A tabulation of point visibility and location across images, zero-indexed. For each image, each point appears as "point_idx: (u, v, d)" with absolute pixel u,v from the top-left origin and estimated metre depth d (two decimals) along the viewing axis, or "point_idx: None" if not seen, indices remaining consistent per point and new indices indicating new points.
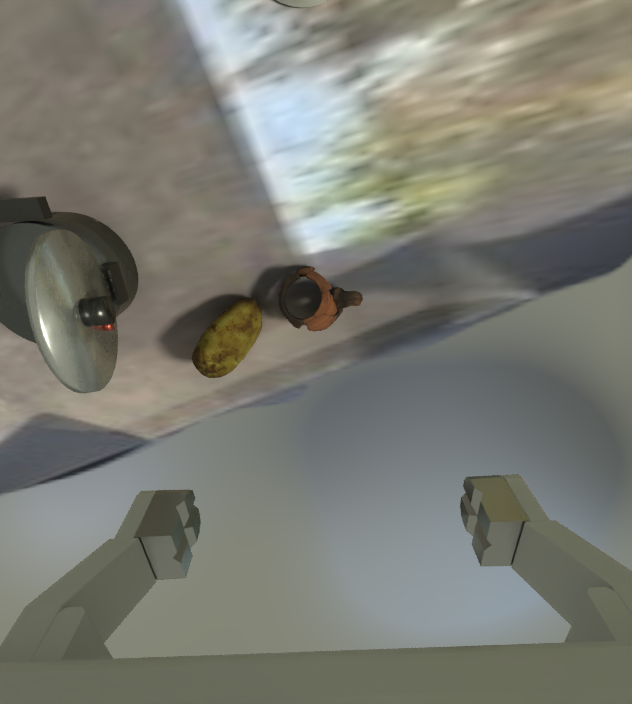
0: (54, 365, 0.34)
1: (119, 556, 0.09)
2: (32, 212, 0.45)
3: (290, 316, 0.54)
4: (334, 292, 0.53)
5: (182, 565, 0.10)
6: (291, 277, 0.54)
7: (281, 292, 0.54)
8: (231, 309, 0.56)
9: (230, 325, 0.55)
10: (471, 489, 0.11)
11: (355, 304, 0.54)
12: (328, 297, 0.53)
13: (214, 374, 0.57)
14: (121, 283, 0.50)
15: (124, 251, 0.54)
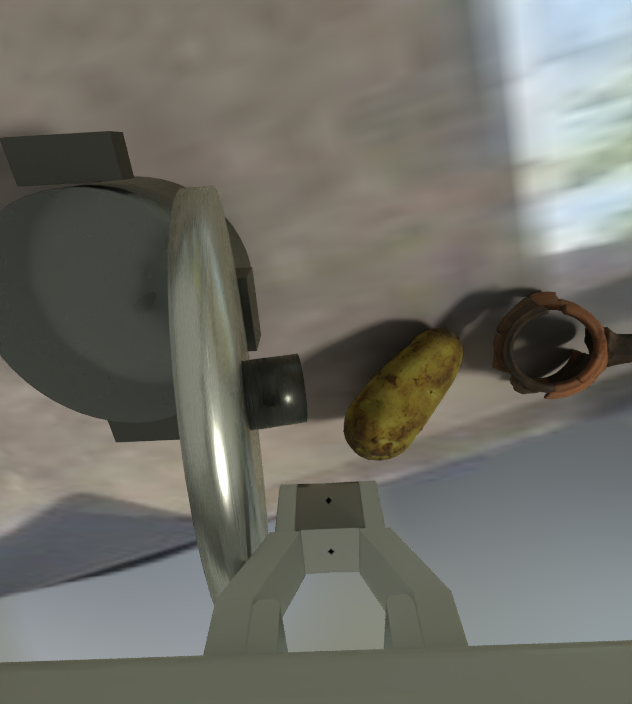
0: None
1: (288, 549, 0.09)
2: (98, 164, 0.21)
3: (528, 379, 0.31)
4: (609, 337, 0.31)
5: (334, 559, 0.10)
6: (532, 312, 0.31)
7: (510, 337, 0.32)
8: (421, 348, 0.32)
9: (421, 376, 0.32)
10: (325, 495, 0.11)
11: None
12: None
13: (383, 456, 0.33)
14: (255, 307, 0.26)
15: (240, 248, 0.31)
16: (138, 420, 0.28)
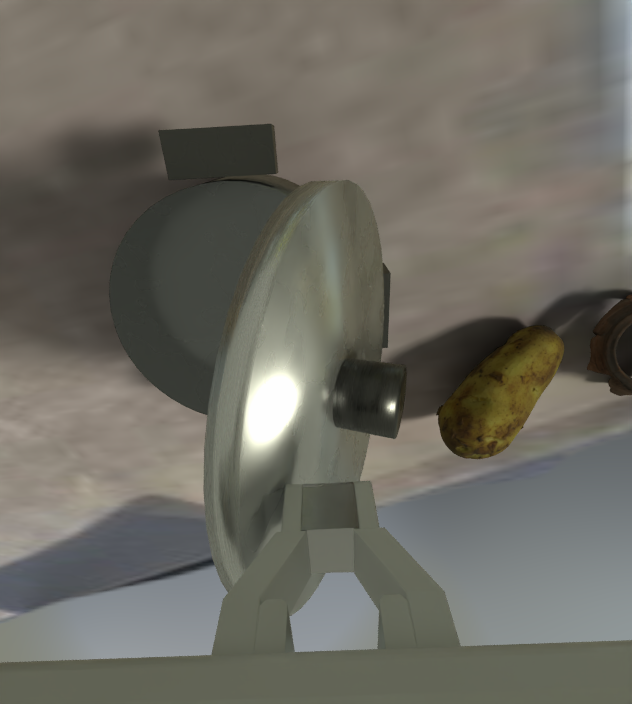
0: None
1: (294, 549, 0.09)
2: (254, 157, 0.21)
3: None
4: None
5: (340, 559, 0.10)
6: None
7: (614, 339, 0.32)
8: (525, 345, 0.32)
9: (527, 373, 0.31)
10: (320, 496, 0.11)
11: None
12: None
13: (484, 455, 0.33)
14: None
15: None
16: None
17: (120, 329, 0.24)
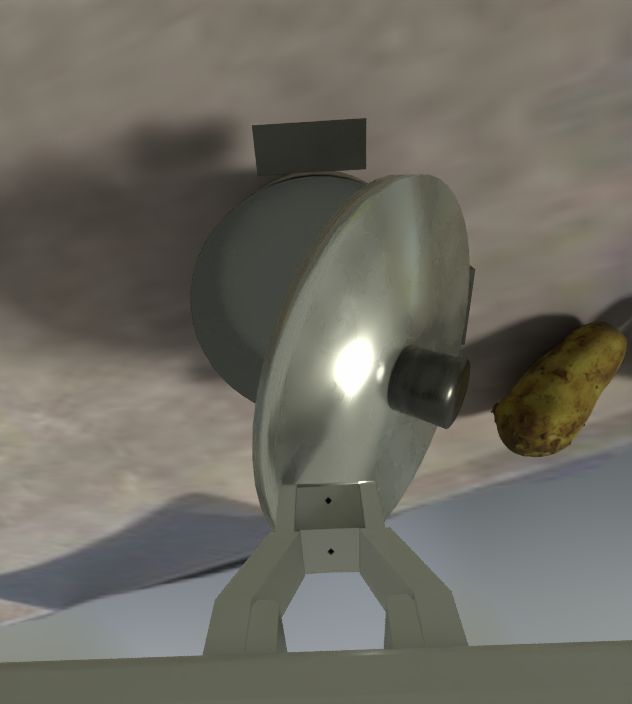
0: None
1: (287, 549, 0.09)
2: (345, 152, 0.21)
3: None
4: None
5: (333, 559, 0.10)
6: None
7: None
8: (589, 342, 0.32)
9: (592, 370, 0.31)
10: (325, 495, 0.11)
11: None
12: None
13: (545, 453, 0.33)
14: None
15: None
16: None
17: (198, 326, 0.24)
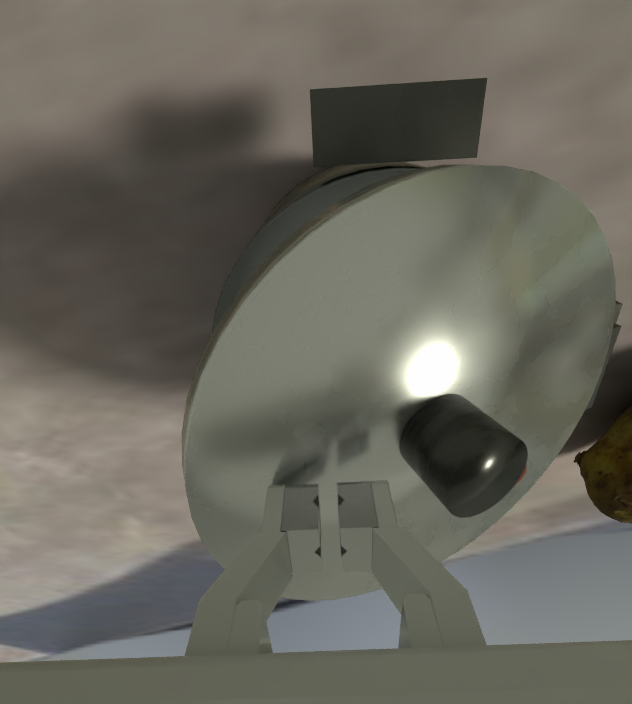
0: None
1: (273, 550, 0.09)
2: (448, 132, 0.14)
3: None
4: None
5: (321, 559, 0.10)
6: None
7: None
8: None
9: None
10: (337, 495, 0.11)
11: None
12: None
13: None
14: None
15: None
16: None
17: None
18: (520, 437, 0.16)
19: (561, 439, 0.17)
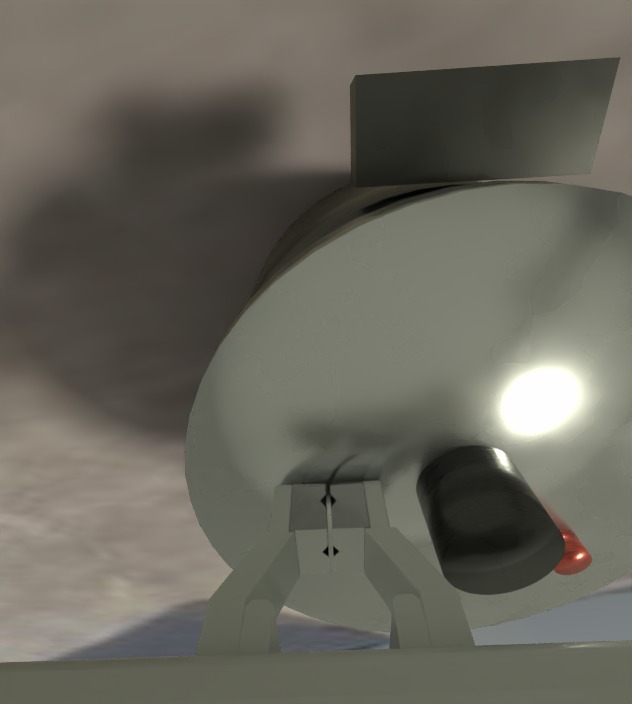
0: None
1: (282, 549, 0.09)
2: (554, 137, 0.09)
3: None
4: None
5: (328, 559, 0.10)
6: None
7: None
8: None
9: None
10: None
11: None
12: None
13: None
14: None
15: None
16: None
17: None
18: (592, 519, 0.12)
19: None
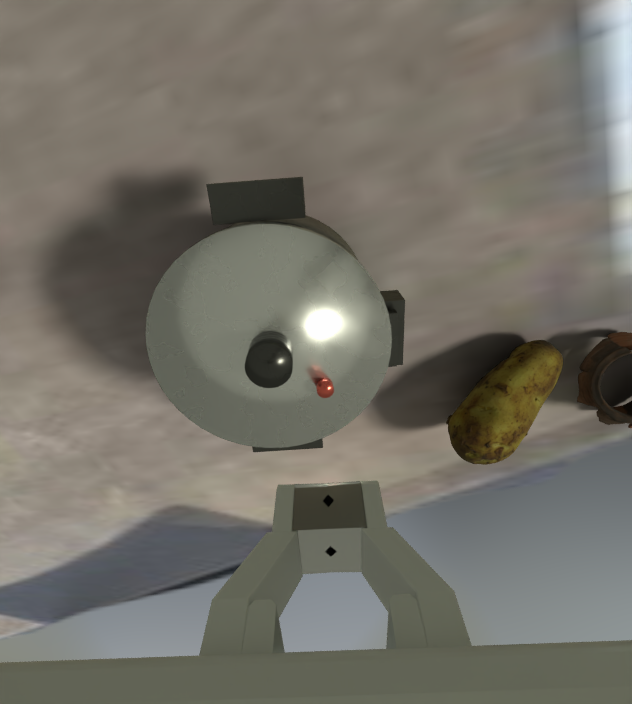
0: None
1: (284, 550, 0.09)
2: (286, 204, 0.24)
3: (617, 412, 0.35)
4: None
5: (331, 559, 0.10)
6: (616, 353, 0.35)
7: (597, 376, 0.36)
8: (527, 359, 0.35)
9: (529, 384, 0.34)
10: (328, 495, 0.11)
11: None
12: None
13: (491, 460, 0.36)
14: None
15: None
16: None
17: None
18: (336, 371, 0.27)
19: (374, 383, 0.28)
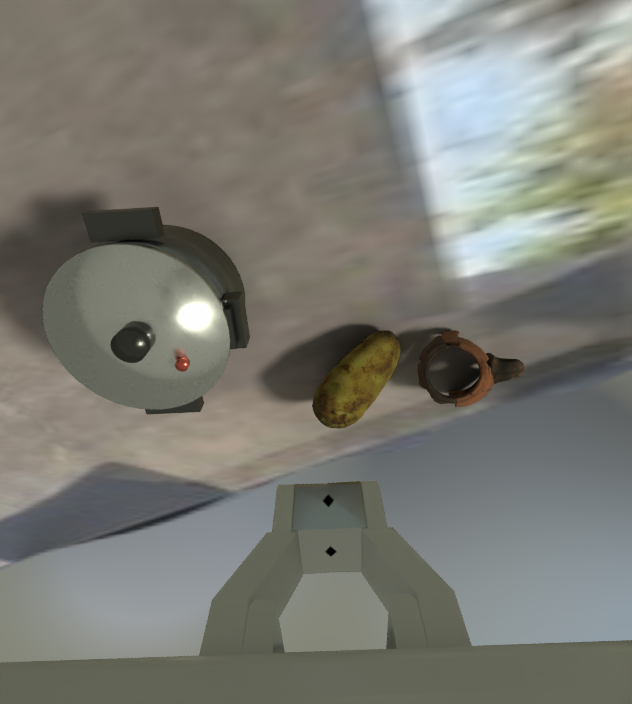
0: None
1: (285, 549, 0.09)
2: (143, 228, 0.33)
3: (438, 394, 0.45)
4: (492, 363, 0.44)
5: (331, 559, 0.10)
6: (438, 348, 0.44)
7: (425, 365, 0.45)
8: (368, 345, 0.44)
9: (367, 365, 0.44)
10: (328, 495, 0.11)
11: (518, 376, 0.44)
12: (486, 370, 0.44)
13: (340, 425, 0.45)
14: (245, 318, 0.38)
15: (235, 274, 0.43)
16: None
17: None
18: (191, 352, 0.36)
19: (221, 361, 0.37)
